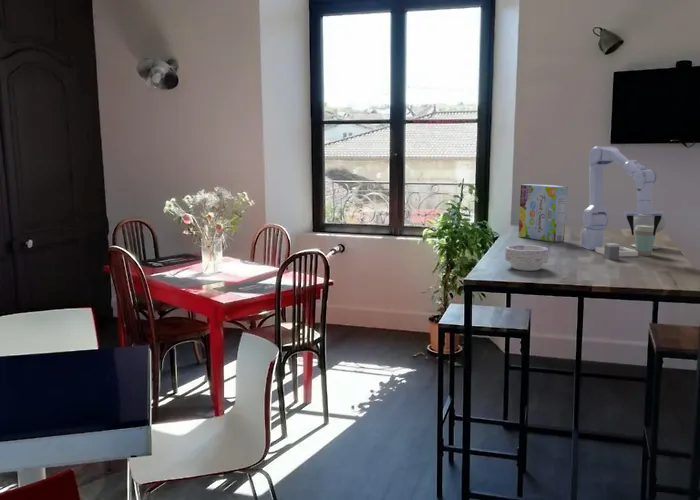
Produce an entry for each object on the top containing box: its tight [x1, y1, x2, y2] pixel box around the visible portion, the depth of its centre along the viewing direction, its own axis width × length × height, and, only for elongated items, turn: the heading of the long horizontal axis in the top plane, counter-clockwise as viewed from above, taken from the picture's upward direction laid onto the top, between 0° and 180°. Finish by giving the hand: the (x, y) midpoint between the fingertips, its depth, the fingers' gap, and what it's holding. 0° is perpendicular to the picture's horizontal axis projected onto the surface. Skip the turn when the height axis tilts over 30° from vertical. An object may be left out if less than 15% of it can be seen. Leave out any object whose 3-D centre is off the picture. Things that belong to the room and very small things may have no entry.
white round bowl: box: [504, 244, 549, 272], centre depth 237 cm, size 15×15×8 cm
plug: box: [603, 242, 621, 261], centre depth 258 cm, size 4×4×6 cm
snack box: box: [518, 183, 568, 243], centre depth 306 cm, size 22×9×26 cm, turn 34°
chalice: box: [630, 214, 667, 250], centre depth 285 cm, size 14×14×15 cm
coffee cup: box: [634, 225, 658, 257], centre depth 267 cm, size 8×8×12 cm
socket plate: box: [595, 246, 639, 257], centre depth 269 cm, size 12×12×2 cm
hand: (643, 235), depth 255 cm, fingers open, 7 cm apart
